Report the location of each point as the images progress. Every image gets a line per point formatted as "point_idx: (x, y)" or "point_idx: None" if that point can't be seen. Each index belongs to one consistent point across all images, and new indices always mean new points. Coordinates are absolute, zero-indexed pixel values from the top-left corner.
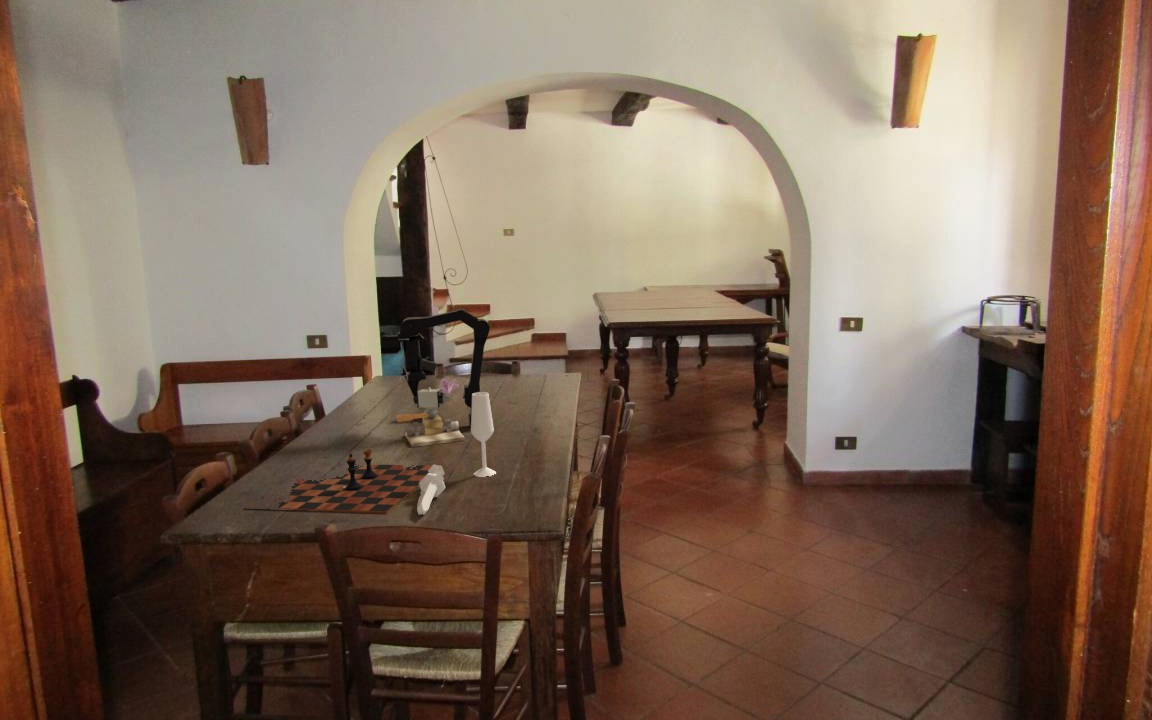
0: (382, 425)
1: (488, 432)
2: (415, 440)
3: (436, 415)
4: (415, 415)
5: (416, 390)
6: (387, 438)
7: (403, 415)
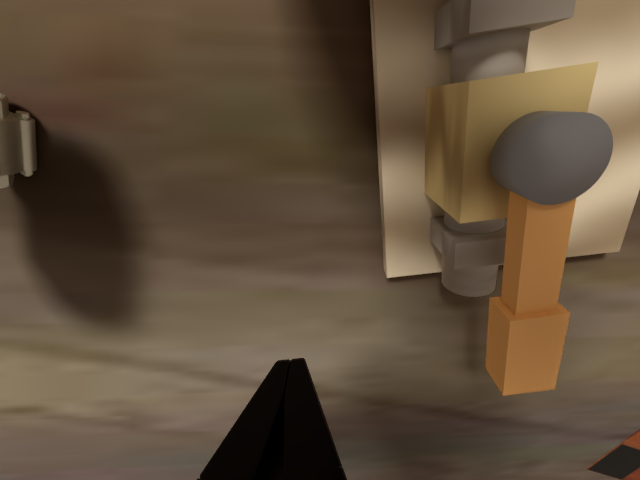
0: (163, 353)
1: None
2: (573, 233)
3: (4, 99)
4: (557, 287)
5: (325, 424)
6: (392, 332)
7: (540, 361)
